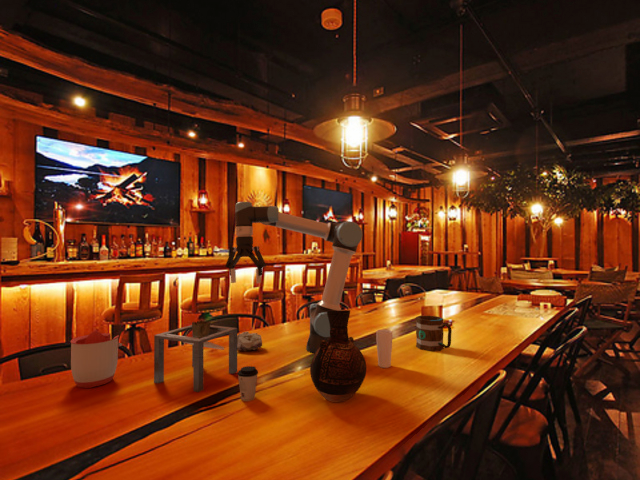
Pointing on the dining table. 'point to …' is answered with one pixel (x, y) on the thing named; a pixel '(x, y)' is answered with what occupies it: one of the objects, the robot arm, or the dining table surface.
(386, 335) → the drinking glass
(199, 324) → the brown rounded piece
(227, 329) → the stand
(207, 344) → the trapdoor
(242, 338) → the geode
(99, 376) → the citrus juicer
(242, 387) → the coffee cup
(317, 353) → the ceramic vessel
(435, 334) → the mug
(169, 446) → the dining table surface
